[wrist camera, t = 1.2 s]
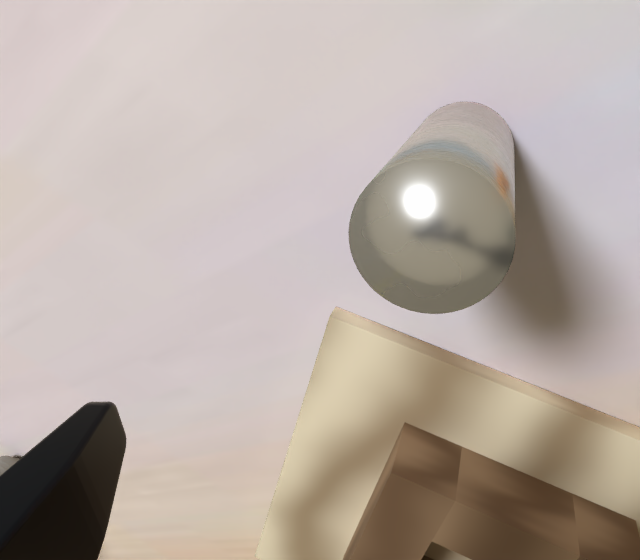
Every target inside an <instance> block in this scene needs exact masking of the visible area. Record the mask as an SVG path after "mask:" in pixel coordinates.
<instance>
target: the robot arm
mask: <svg viewBox="0 0 640 560" xmlns="http://www.w3.org/2000/svg"><path fill="white" fill-rule="evenodd" d="M125 448H126V435H125V431H124V428H123V425H122V422H121V419H120V416H119V413H118V410H117V408H116V406H115V404H114V403H112V402H89V403H87V404H85V405H84V406H83V407H81V408H80V409H79V410H78V411H77V412H75V413H74V414H73V415H72V416H71V417H69V418H68V419H67V420H66V421H65V422H64V423H62V424H61V425H60V426H59V427H58V428H56V429H55V430H54V431H53V432H52V433H50V434H49V435H48V436H47V437H46V438H44V439H43V440H42V441H41V442H40V443H38V444H37V445H36V446H35V447H34V448H32V449H31V450H30V451H29V452H28V453H26V454H25V455H24V456H23V457H22V458H20V459H19V460H18V461H17V462H16V463H14V464H13V465H12V466H11V467H10V468H8V469H7V470H6V471H5V472H4V473H3V474H1V475H0V560H97V559H98V556H99V553H100V550H101V547H102V544H103V541H104V537H105V534H106V530H107V526H108V522H109V518H110V514H111V509H112V505H113V501H114V496H115V492H116V488H117V483H118V479H119V475H120V470H121V466H122V462H123V457H124V453H125Z"/></svg>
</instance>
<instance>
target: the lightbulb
mask: <svg viewBox="0 0 640 560" xmlns="http://www.w3.org/2000/svg"><path fill="white" fill-rule="evenodd" d="M18 460H19V458H13V457H10V456H1V457H0V475H1V474H3V473H4V472H5V471H6V470H7V469H8V468H10V467H11V466H12V465H13V464H14V463H16V462H17V461H18Z"/></svg>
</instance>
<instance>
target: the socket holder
mask: <svg viewBox="0 0 640 560" xmlns="http://www.w3.org/2000/svg"><path fill="white" fill-rule="evenodd" d="M255 557H257V558H259V559H261V560H640V427H637V426H635V425H632V424H630V423H627V422H625V421H622V420H620V419H617V418H615V417H612V416H610V415H607V414H605V413H602V412H600V411H597V410H595V409H592V408H590V407H587V406H584V405H582V404H579V403H577V402H574V401H572V400H569V399H567V398H564V397H562V396H559V395H557V394H554V393H552V392H549V391H547V390H544V389H542V388H539V387H537V386H534V385H532V384H529V383H527V382H524V381H522V380H519V379H517V378H514V377H512V376H509V375H507V374H504V373H502V372H499V371H497V370H494V369H492V368H489V367H486V366H484V365H481V364H479V363H476V362H474V361H471V360H469V359H466V358H464V357H461V356H459V355H456V354H454V353H451V352H449V351H446V350H444V349H441V348H439V347H436V346H434V345H431V344H429V343H426V342H424V341H421V340H419V339H416V338H414V337H411V336H409V335H406V334H404V333H401V332H399V331H396V330H393V329H391V328H388V327H386V326H383V325H381V324H378V323H376V322H373V321H371V320H368V319H366V318H363V317H361V316H358V315H356V314H353V313H351V312H348V311H346V310H343V309H341V308H338V307H335V309H334V310H333V312H332V314H331V315H330V317H329V321H328V324H327V327H326V330H325V333H324V337H323V340H322V343H321V346H320V349H319V353H318V356H317V359H316V362H315V365H314V368H313V372H312V375H311V378H310V381H309V384H308V388H307V391H306V394H305V397H304V400H303V404H302V407H301V410H300V413H299V416H298V420H297V423H296V426H295V429H294V432H293V435H292V439H291V442H290V445H289V448H288V451H287V455H286V458H285V461H284V464H283V467H282V471H281V474H280V477H279V480H278V483H277V487H276V490H275V493H274V496H273V499H272V502H271V506H270V509H269V512H268V515H267V518H266V522H265V525H264V528H263V531H262V534H261V538H260V541H259V544H258V547H257V550H256V554H255Z"/></svg>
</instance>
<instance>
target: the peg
mask: <svg viewBox="0 0 640 560" xmlns="http://www.w3.org/2000/svg"><path fill="white" fill-rule="evenodd" d="M349 244H350V249H351V253H352V257H353V260H354V262H355V264H356V266H357V269H358V270H359V272H360V274H361V275H362V277H363V278H364V279H365V281H366V282H367V283H368V284H369V286H370V287H371V288H372V289H374V290H375V291H376V292H377V293H378V294H379V295H381V296H382V297H383V298H385V299H386V300H388V301H390V302H391V303H393V304H395V305H397V306H400V307H402V308H405V309H408V310H411V311H415V312H420V313H430V314H440V313H449V312H454V311H458V310H462V309H464V308H467V307H469V306H472V305H474V304H475V303H477V302H479V301H481V300H482V299H484V298H485V297H486V296H488V295H489V294H490V293H491V292H492V291H493V290H494V289H495V288H496V287H497V286H498V285H499V284H500V282H501V281H502V280H503V278H504V276H505V275H506V273H507V271H508V269H509V267H510V264H511V262H512V258H513V254H514V249H515V167H514V141H513V136H512V133H511V131H510V129H509V127H508V125H507V123H506V122H505V120H504V119H503V118H502V117H501V116H500V115H499V114H498V113H497V112H495V111H494V110H493V109H491V108H489V107H487V106H485V105H482V104H479V103H475V102H456V103H452V104H448V105H446V106H443V107H441V108H439V109H438V110H436V111H435V112H433V113H432V114H431V115H430V116H428V118H427V119H426V120H425V121H424V122H423V123H422V124H421V125H420V126H419V127H418V129H417V130H416V131H415V132H414V133H413V134H412V135H411V137H410V138H409V139H408V140H407V141H406V142H405V143H404V145H403V146H402V147H401V148H400V149H399V150H398V151H397V153H396V154H395V155H394V156H393V157H392V158H391V159H390V161H389V162H388V163H387V164H386V165H385V166H384V167H383V169H382V170H381V171H380V172H379V173H378V174H377V175H376V177H375V178H374V179H373V180H372V181H371V182H370V183H369V184H368V186H367V187H366V188H365V189H364V191H363V192H362V193H361V195H360V196H359V198H358V200H357V202H356V204H355V206H354V209H353V211H352V214H351V219H350V224H349Z"/></svg>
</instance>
